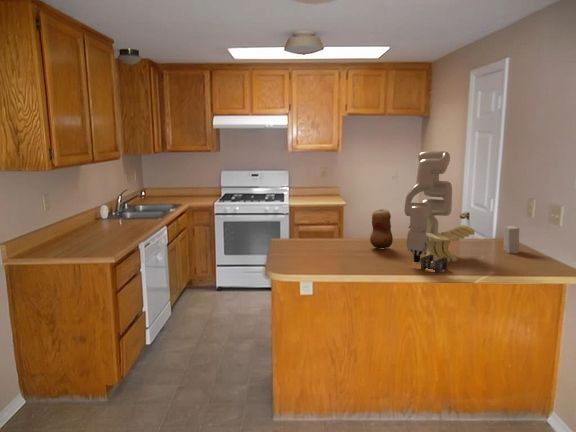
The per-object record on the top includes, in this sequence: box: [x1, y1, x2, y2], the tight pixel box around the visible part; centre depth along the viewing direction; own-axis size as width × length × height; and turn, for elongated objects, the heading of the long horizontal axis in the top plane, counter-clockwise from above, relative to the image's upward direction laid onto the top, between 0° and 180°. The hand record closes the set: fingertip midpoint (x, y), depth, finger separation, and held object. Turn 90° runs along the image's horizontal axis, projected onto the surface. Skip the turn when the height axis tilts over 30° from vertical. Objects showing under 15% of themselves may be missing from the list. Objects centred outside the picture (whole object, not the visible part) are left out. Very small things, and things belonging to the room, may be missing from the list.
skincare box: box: [503, 225, 520, 254], centre depth 266 cm, size 8×6×15 cm
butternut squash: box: [369, 208, 394, 249], centre depth 282 cm, size 14×13×25 cm
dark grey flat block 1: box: [420, 254, 434, 271], centre depth 241 cm, size 2×9×6 cm, turn 133°
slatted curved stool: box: [426, 224, 475, 262], centre depth 258 cm, size 30×16×18 cm, turn 94°
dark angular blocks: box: [434, 257, 448, 275], centre depth 235 cm, size 2×9×8 cm, turn 133°
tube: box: [426, 259, 444, 271], centre depth 239 cm, size 10×4×4 cm, turn 43°
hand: (416, 261), depth 246 cm, fingers closed
